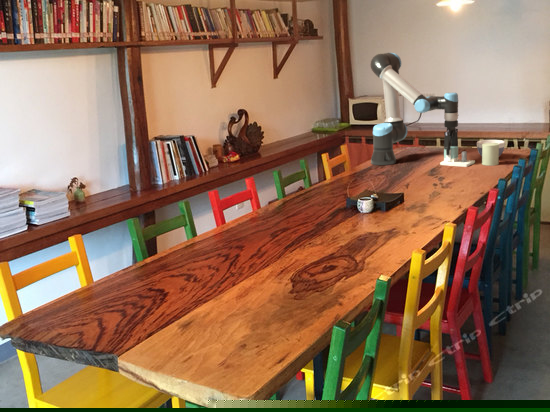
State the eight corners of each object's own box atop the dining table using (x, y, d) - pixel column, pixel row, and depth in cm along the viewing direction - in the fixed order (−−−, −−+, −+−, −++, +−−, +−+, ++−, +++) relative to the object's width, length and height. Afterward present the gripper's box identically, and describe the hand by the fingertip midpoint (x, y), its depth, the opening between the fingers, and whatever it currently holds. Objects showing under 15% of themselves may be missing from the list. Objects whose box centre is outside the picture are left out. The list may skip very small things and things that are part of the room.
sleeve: (444, 161, 371) (444, 147, 369) (448, 159, 376) (448, 146, 374) (453, 162, 368) (453, 148, 366) (458, 160, 372) (458, 146, 370)
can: (499, 165, 358) (500, 144, 355) (482, 165, 360) (483, 144, 357) (497, 162, 367) (498, 141, 364) (480, 162, 369) (481, 142, 366)
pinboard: (440, 164, 370) (440, 152, 368) (448, 161, 379) (448, 148, 377) (466, 166, 360) (466, 153, 358) (474, 162, 369) (475, 150, 367)
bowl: (508, 159, 373) (508, 143, 371) (481, 160, 374) (481, 144, 371) (499, 154, 389) (499, 139, 386) (473, 156, 389) (473, 140, 387)
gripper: (450, 122, 356) (450, 162, 362) (464, 117, 370) (463, 156, 376) (437, 122, 361) (437, 162, 367) (452, 117, 375) (451, 156, 381)
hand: (450, 159), depth 371 cm, fingers open, 6 cm apart
